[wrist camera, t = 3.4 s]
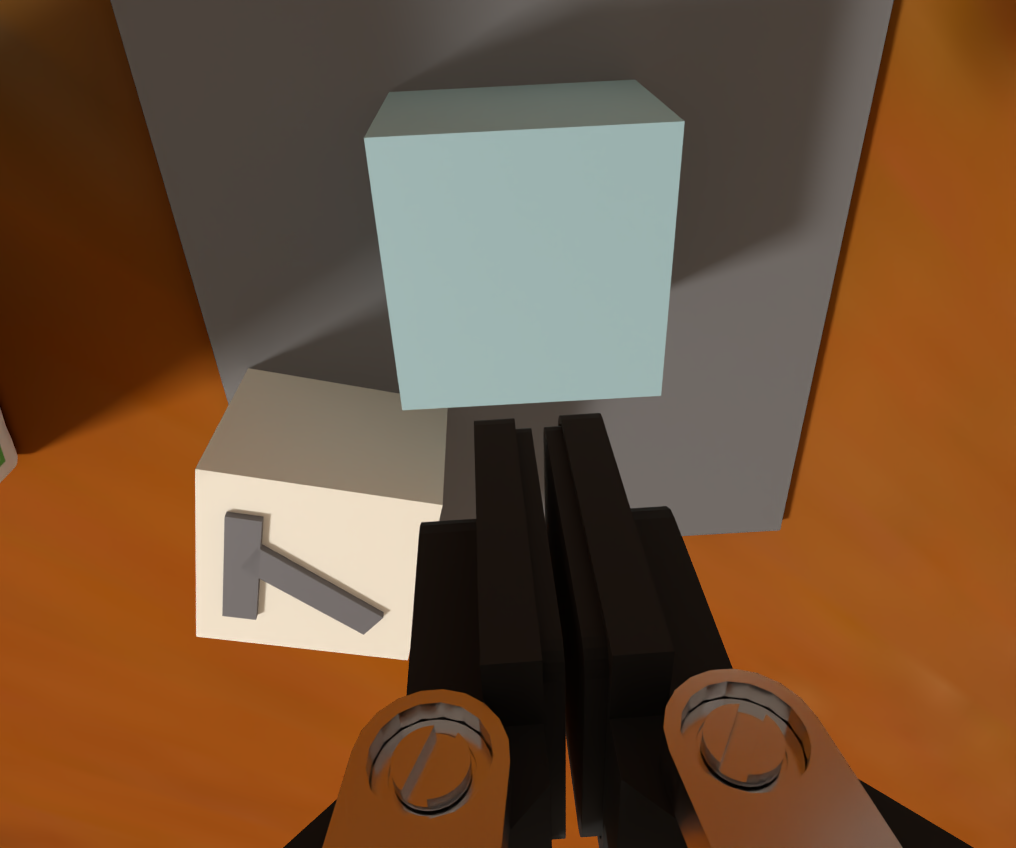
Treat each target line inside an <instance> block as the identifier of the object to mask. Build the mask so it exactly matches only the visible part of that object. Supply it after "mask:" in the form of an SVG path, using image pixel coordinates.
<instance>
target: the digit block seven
mask: <svg viewBox="0 0 1016 848" xmlns="http://www.w3.org/2000/svg"><path fill="white" fill-rule="evenodd" d="M447 411H448V408H434V409H416V410H402V405H401V398H400V394H399V393H393V392H387V391H381V390H375V389H369V388H363V387H357V386H351V385H345V384H339V383H333V382H327V381H322V380H316V379H310V378H304V377H298V376H292V375H286V374H280V373H274V372H268V371H262V370H256V369H250V368H248V370H247V371H246V373H245V375H244V377H243V379H242V381H241V383H240V385H239V387H238V389H237V391H236V392H235V394H234V396H233V398H232V400H231V402H230V404H229V406H228V408H227V410H226V412H225V413H224V415H223V417H222V419H221V421H220V423H219V425H218V427H217V429H216V431H215V432H214V434H213V436H212V438H211V440H210V442H209V444H208V446H207V448H206V450H205V452H204V453H203V455H202V457H201V459H200V461H199V463H198V465H197V467H196V469H195V498H196V636H197V637H206V638H215V639H224V640H233V641H241V642H250V643H259V644H268V645H277V646H286V647H295V648H303V649H312V650H321V651H330V652H339V653H348V654H357V655H365V656H374V657H383V658H392V659H401V660H408V656H409V652H410V644H411V631H412V618H413V605H414V592H415V578H416V565H417V552H418V539H419V529H420V524H421V522H433V521H439V519H440V514H441V510H442V506H443V488H444V468H445V449H446V430H447Z"/></svg>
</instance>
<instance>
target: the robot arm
mask: <svg viewBox="0 0 1016 848" xmlns="http://www.w3.org/2000/svg"><path fill="white" fill-rule="evenodd" d="M543 443H544V495H545V516H544V509H543V503H542V496H541V489H540V483H539V476H538V469H537V463H536V456H535V449H534V442H533V436H532V430H531V428H522V429H516V427H515V419H514V418H509V419H493V420H477V421H474V452H475V491H476V519H463V520H448V521H433V522H421V524H420V529H419V539H418V552H417V565H416V578H415V592H414V605H413V618H412V631H411V644H410V657H409V670H408V684H407V696H404V697H402V698H399V699H397V700H395V701H394V702H392V703H391V704H389V705H388V706H386V707H385V708H383V709H382V710H380V711H379V712H377V713H376V715H375V716H374V717H373V718H372V719H371V720H370V721H369V722H368V724H367V725H366V726H365V727H364V728H363V729H362V731H361V733H360V735H359V737H358V739H357V741H356V743H355V745H354V747H353V749H352V751H351V755H350V758H349V761H348V765H347V768H346V771H345V775H344V778H343V781H342V784H341V788H340V791H339V794H338V798H337V800H336V801H334V802H333V803H332V804H331V805H330V806H329V807H328V808H327V809H326V810H324V811H323V812H322V813H321V814H320V815H319V816H318V817H317V818H316V819H315V820H313V821H312V822H311V823H310V824H309V825H308V826H307V827H306V828H305V829H303V830H302V831H301V832H300V833H299V834H298V835H297V836H296V837H295V838H293V839H292V840H291V841H290V842H289V843H288V844H287V845H286V846H285V847H283V848H552V839H564V838H565V836H566V739H567V747H568V754H569V761H570V769H571V776H572V784H573V791H574V799H575V806H576V813H577V821H578V828H579V833H580V837H591V836H597V837H598V843H599V848H973V847H971V846H970V845H968V844H966V843H965V842H963V841H961V840H960V839H958V838H956V837H955V836H953V835H951V834H950V833H948V832H946V831H945V830H943V829H941V828H940V827H938V826H936V825H935V824H933V823H931V822H930V821H928V820H926V819H925V818H923V817H921V816H920V815H918V814H916V813H914V812H913V811H911V810H909V809H908V808H906V807H904V806H903V805H901V804H899V803H898V802H896V801H894V800H893V799H891V798H889V797H888V796H886V795H884V794H883V793H881V792H879V791H878V790H876V789H874V788H873V787H871V786H869V785H868V784H866V783H864V782H863V781H861V780H859V779H858V778H857V777H856V775H855V774H854V772H853V771H852V769H851V768H850V766H849V765H848V763H847V762H846V760H845V759H844V757H843V755H842V754H841V752H840V751H839V749H838V748H837V746H836V745H835V743H834V742H833V740H832V739H831V737H830V736H829V734H828V732H827V731H826V729H825V728H824V726H823V725H822V723H821V722H820V720H819V719H818V717H817V716H816V715H815V714H814V713H813V711H812V710H811V709H810V708H809V707H808V706H807V704H806V703H805V702H804V701H803V700H802V699H801V698H800V697H799V696H798V695H796V694H795V693H793V692H792V691H791V690H789V689H788V688H786V687H785V686H784V685H782V684H781V683H779V682H777V681H774V680H772V679H770V678H767V677H765V676H763V675H760V674H758V673H754V672H748V671H743V670H737V669H733V668H732V666H731V663H730V661H729V658H728V655H727V653H726V650H725V648H724V645H723V642H722V640H721V637H720V635H719V632H718V629H717V627H716V624H715V622H714V619H713V616H712V614H711V611H710V608H709V606H708V603H707V601H706V598H705V595H704V593H703V590H702V588H701V585H700V582H699V580H698V577H697V575H696V572H695V569H694V567H693V564H692V562H691V559H690V556H689V554H688V551H687V549H686V546H685V543H684V541H683V538H682V536H681V533H680V530H679V528H678V525H677V523H676V520H675V517H674V515H673V513H672V511H671V509H670V508H668V507H667V506H659V507H644V508H630V505H629V502H628V499H627V495H626V492H625V489H624V486H623V483H622V479H621V476H620V473H619V470H618V466H617V463H616V460H615V457H614V453H613V450H612V447H611V444H610V441H609V437H608V434H607V431H606V428H605V424H604V421H603V418H602V415H601V413H588V414H572V415H559V418H558V426H553V427H544V431H543Z"/></svg>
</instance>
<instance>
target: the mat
mask: <svg viewBox="0 0 1016 848" xmlns="http://www.w3.org/2000/svg"><path fill="white" fill-rule="evenodd" d="M110 1H111V4H112V7H113V11H114V14H115V18H116V21H117V24H118V28H119V31H120V35H121V38H122V42H123V45H124V48H125V52H126V55H127V59H128V62H129V65H130V69H131V72H132V76H133V79H134V83H135V86H136V89H137V93H138V96H139V100H140V103H141V106H142V110H143V113H144V117H145V120H146V124H147V127H148V130H149V134H150V137H151V141H152V144H153V147H154V151H155V154H156V158H157V161H158V165H159V168H160V171H161V175H162V178H163V182H164V185H165V189H166V192H167V195H168V199H169V202H170V206H171V209H172V212H173V216H174V219H175V223H176V226H177V230H178V233H179V236H180V240H181V243H182V247H183V250H184V253H185V257H186V260H187V264H188V267H189V271H190V274H191V277H192V281H193V284H194V288H195V291H196V294H197V298H198V301H199V305H200V308H201V312H202V315H203V318H204V322H205V325H206V329H207V332H208V335H209V339H210V342H211V346H212V349H213V353H214V356H215V359H216V363H217V366H218V370H219V373H220V376H221V380H222V383H223V387H224V390H225V394H226V397H227V400H228V404H230V402H231V400H232V398H233V396H234V394H235V392H236V391H237V389H238V387H239V385H240V383H241V381H242V379H243V377H244V375H245V373H246V371H247V370H248V368H250V369H256V370H262V371H268V372H274V373H280V374H286V375H292V376H298V377H304V378H310V379H316V380H322V381H327V382H333V383H339V384H345V385H351V386H357V387H363V388H369V389H375V390H381V391H387V392H393V393H399V394H400V391H399V384H398V377H397V370H396V362H395V355H394V348H393V341H392V334H391V327H390V320H389V313H388V306H387V299H386V292H385V285H384V277H383V270H382V263H381V256H380V249H379V242H378V235H377V228H376V221H375V214H374V207H373V200H372V192H371V185H370V178H369V171H368V164H367V157H366V150H365V143H364V137H365V135H366V133H367V131H368V129H369V127H370V126H371V124H372V122H373V120H374V118H375V117H376V115H377V113H378V111H379V109H380V108H381V106H382V104H383V102H384V100H385V99H386V97H387V95H388V93H389V92H400V91H419V90H439V89H459V88H478V87H498V86H518V85H537V84H557V83H577V82H596V81H616V80H636V81H638V82H639V83H640V84H641V85H642V86H643V87H645V88H646V89H647V90H648V91H649V92H651V93H652V94H653V95H654V96H655V97H656V98H658V99H659V100H660V101H661V102H662V103H664V104H665V105H666V106H667V107H668V108H670V109H671V110H672V111H673V112H674V113H675V114H677V115H678V116H679V117H680V118H681V119H683V120H684V121H685V123H684V135H683V146H682V158H681V170H680V181H679V193H678V205H677V216H676V228H675V240H674V251H673V263H672V275H671V286H670V298H669V310H668V321H667V333H666V344H665V356H664V368H663V379H662V391H661V396H648V397H630V398H612V399H595V400H577V401H559V402H541V403H523V404H506V405H488V406H470V407H452V408H448V411H447V430H446V449H445V468H444V488H443V506H442V510H441V514H440V519H439V521H448V520H463V519H476V491H475V452H474V421H477V420H493V419H509V418H514V419H515V427H516V429H522V428H531V430H532V436H533V442H534V449H535V456H536V463H537V469H538V476H539V483H540V489H541V496H542V503H543V509H544V516H545V495H544V443H543V431H544V427H553V426H558V418H559V415H572V414H588V413H601V415H602V418H603V421H604V424H605V428H606V431H607V434H608V437H609V441H610V444H611V447H612V450H613V453H614V457H615V460H616V463H617V466H618V470H619V473H620V476H621V479H622V483H623V486H624V489H625V492H626V495H627V499H628V502H629V505H630V508H644V507H659V506H667V507H668V508H670V509H671V511H672V513H673V515H674V517H675V520H676V523H677V525H678V528H679V530H680V533H681V536H689V535H707V534H724V533H741V532H758V531H775V530H780V528H781V523H782V519H783V514H784V509H785V505H786V500H787V495H788V491H789V486H790V481H791V477H792V472H793V467H794V463H795V458H796V453H797V449H798V444H799V439H800V435H801V430H802V425H803V421H804V416H805V411H806V407H807V402H808V397H809V393H810V388H811V383H812V379H813V374H814V369H815V365H816V360H817V355H818V351H819V346H820V341H821V337H822V332H823V327H824V323H825V318H826V313H827V309H828V304H829V299H830V295H831V290H832V285H833V281H834V276H835V271H836V267H837V262H838V257H839V253H840V248H841V243H842V239H843V234H844V229H845V225H846V220H847V215H848V211H849V206H850V201H851V197H852V192H853V187H854V183H855V178H856V173H857V169H858V164H859V159H860V155H861V150H862V145H863V141H864V136H865V131H866V127H867V122H868V117H869V113H870V108H871V103H872V99H873V94H874V89H875V85H876V80H877V75H878V71H879V66H880V62H881V57H882V52H883V48H884V43H885V38H886V34H887V29H888V24H889V20H890V15H891V10H892V6H893V1H894V0H110Z"/></svg>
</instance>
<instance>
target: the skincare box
mask: <svg viewBox="0 0 1016 848" xmlns="http://www.w3.org/2000/svg"><path fill="white" fill-rule="evenodd" d="M16 465H17V453H16V450H15V447H14V444H13V441H12V439H11V436H10V434H9V432H8V430H7V428H6V425H5V422H4V419H3V415H2V412H1V409H0V482H1V481H2V480H3V479H4V478H5V477H6V476H7V475H8V474H9V473H10V472H11V471H12V470H13V469H14V467H15V466H16Z"/></svg>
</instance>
